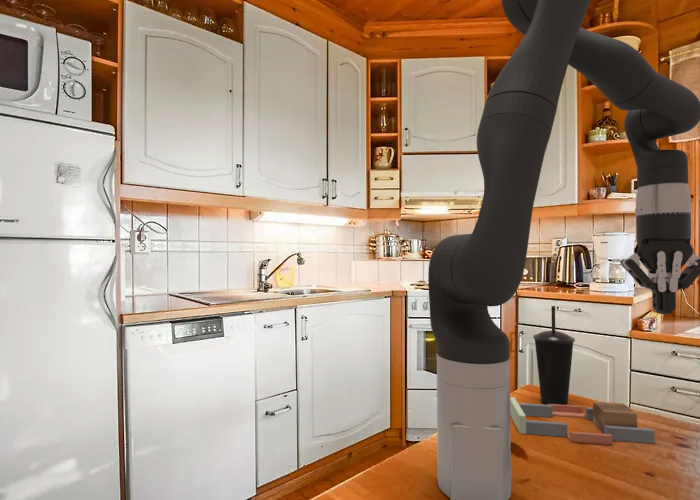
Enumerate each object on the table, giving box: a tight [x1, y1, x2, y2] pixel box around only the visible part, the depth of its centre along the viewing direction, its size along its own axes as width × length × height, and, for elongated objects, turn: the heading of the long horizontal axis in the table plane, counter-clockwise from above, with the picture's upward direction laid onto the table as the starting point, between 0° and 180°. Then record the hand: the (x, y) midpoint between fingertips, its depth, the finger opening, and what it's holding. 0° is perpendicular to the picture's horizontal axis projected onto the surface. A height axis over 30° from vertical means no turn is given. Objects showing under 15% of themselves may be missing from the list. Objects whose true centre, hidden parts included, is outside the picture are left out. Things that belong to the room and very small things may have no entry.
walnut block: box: [592, 401, 638, 434], centre depth 71 cm, size 5×5×4 cm
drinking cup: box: [532, 305, 576, 405], centre depth 84 cm, size 8×8×20 cm
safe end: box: [510, 396, 527, 435], centre depth 74 cm, size 9×1×3 cm, turn 169°
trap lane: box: [518, 402, 656, 446], centre depth 72 cm, size 13×20×2 cm
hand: (664, 313), depth 70 cm, fingers closed
